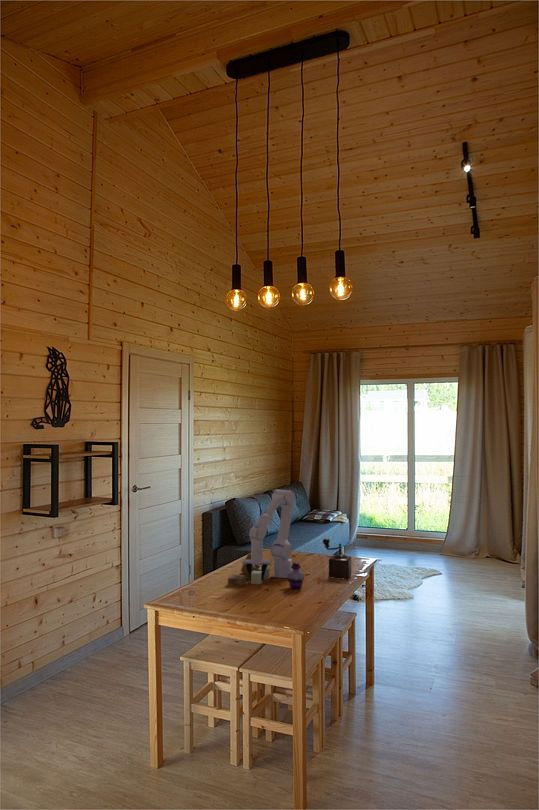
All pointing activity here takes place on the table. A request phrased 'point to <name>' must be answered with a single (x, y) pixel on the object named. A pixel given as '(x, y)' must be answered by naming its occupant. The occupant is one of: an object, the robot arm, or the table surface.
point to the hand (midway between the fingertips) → (256, 579)
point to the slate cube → (265, 572)
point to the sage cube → (256, 577)
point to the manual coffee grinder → (338, 563)
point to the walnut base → (237, 580)
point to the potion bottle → (295, 576)
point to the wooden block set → (244, 570)
